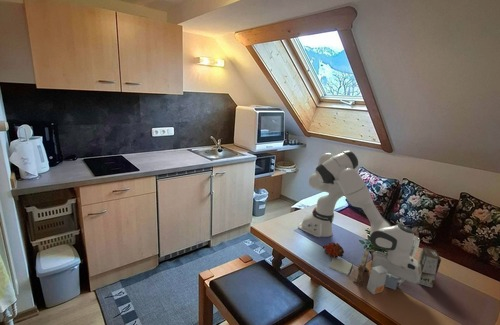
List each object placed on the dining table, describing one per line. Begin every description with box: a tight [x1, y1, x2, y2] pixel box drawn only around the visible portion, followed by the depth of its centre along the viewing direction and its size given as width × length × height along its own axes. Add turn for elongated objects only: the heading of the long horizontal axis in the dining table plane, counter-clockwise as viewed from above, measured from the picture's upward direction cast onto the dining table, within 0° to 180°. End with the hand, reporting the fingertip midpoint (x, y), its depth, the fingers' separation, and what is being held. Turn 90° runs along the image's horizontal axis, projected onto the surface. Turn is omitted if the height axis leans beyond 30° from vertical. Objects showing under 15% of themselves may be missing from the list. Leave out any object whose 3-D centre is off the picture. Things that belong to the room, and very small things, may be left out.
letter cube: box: [384, 273, 399, 291], centre depth 130 cm, size 5×5×5 cm
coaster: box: [328, 256, 353, 276], centre depth 142 cm, size 10×10×1 cm
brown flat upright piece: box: [353, 248, 370, 287], centre depth 134 cm, size 16×4×11 cm, turn 148°
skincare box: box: [366, 266, 388, 295], centre depth 125 cm, size 6×4×12 cm
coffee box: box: [417, 247, 442, 288], centre depth 134 cm, size 9×6×16 cm
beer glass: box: [410, 235, 421, 258], centre depth 150 cm, size 7×7×15 cm
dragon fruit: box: [322, 241, 345, 259], centre depth 149 cm, size 8×8×12 cm
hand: (391, 281), depth 130 cm, fingers closed on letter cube, 5 cm apart
